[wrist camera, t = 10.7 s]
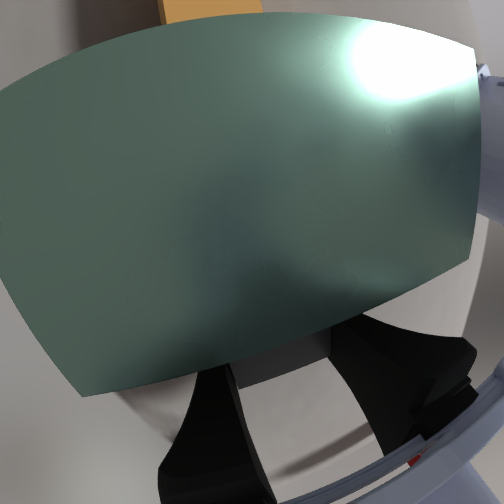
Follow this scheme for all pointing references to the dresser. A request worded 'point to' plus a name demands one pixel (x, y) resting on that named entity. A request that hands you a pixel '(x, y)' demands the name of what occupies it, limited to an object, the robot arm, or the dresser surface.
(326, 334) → the plug
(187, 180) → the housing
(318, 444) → the dresser surface
